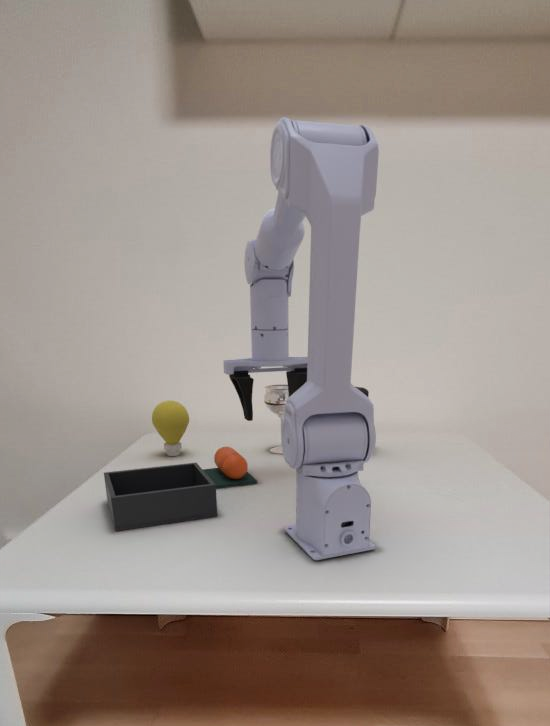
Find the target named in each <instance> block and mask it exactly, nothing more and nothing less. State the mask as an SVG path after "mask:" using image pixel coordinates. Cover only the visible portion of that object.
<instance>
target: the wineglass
mask: <svg viewBox="0 0 550 726" xmlns="http://www.w3.org/2000/svg"><path fill="white" fill-rule="evenodd" d="M263 388H264V390H265V393H264V396H263V402H264V404H265V407H266V408H267V410H269V411H270V412H271V413H272V414H275V415H277V417H278V418H279V423H280V430H281V429H282V423H283V420H284V411H285V404H286V400H287V399H288V398H289V393H288V384H270V385H265V386H264V387H263ZM269 452H271V453H273V454H280V455H281V454H282V455H283V450H282V445H279V446H275V447H271V448H269Z"/></svg>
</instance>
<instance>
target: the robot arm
mask: <svg viewBox="0 0 550 726" xmlns="http://www.w3.org/2000/svg"><path fill="white" fill-rule="evenodd" d="M269 149H270V150H269V152H270V153H269V167H270V168H269V169H270V177H271V181H272V183H273V185H274V186H275V190H276V191H277V196H276V202H275V206H274V207H272V208H270V209H269V210H268V211H267V212H266V213H265V214H264V216H263V218H262V221H261V223H260V226H259V228H258V229H259V230H258V231H257V232H258V233H257V235H256V239H251V240H247V242H246V246H245V250H244V261H243V262H244V263H243V264H244V274H245V279H246V282H247V284H248V285H249V299H250V300H249V301H250V303H249V304H250V336H251V337H250V338H251V357H250V358H237V359H223V362H222V363H223V374H225V375H228V377H229V379H230V381H231V383H232V385H233V387H234V389H235V391H236V393H237V396H238V398H239V401H240V404H241V409H242V412H243V417H244V420H246V421H247V422H253V419H254V409H253V389H254V380H255V379H254V378H253V377H251V373H252V374H254V373H272V372H275V373H276V372H285V373H286V374H285V375H286V381H287V385H288V393H289V398H288V399H287V400H286V404H285V411H284V420H283V423H282V429H281V428H280V441H281V446H282V450H283V454H282V455H283V458H284V460H285V463H286V464H287V465H288V466H289V467H290V468H291V469H292V470H295V473H296V475H295V481H296V482H295V490H296V491H295V509H296V510H295V512H296V513H295V524H292V525H286V526H284V532H285V533H286V534H287V535H289V536H290V538H292V540H293V541H294V542H296V544H297V545H298V546H299V547H300V548H301V549H302V550H303V551H304V552H305V553H306V554H307V555H308V556H309V557H310V558H311V559H312V560H314V561H320V560H326V559H332V558H336V557H341V556H347V555H350V554H351V555H352V554H358V553H362V552H367V551H372V550H375V549H376V544H375V543H374V542H372V540H370V534H371V533H370V531H371V529H370V528H371V513H372V500H371V496H370V493H369V492H368V490H367V489H366V487H364V486H363V484H362V483H361V480H360V478H359V472H361V471H362V472H363V471H364V466H365V465H364V464H365V463H368V462H369V461H370V459H371V458H372V455H373V454H374V452H375V449H376V444H377V433H376V426H375V419H374V416H375V415H374V413H375V408H374V404H373V402H372V401H371V399H370V398H369V396H368V397H367V396H366V395H365V394H364V393H362V392H361V391H360V390H358V389H357V388H356V387H355V385H354V384H353V383H352V365H353V351H354V350H353V349H354V334H355V318H356V302H357V301H356V300H357V285H358V267H359V252H360V234H361V225H362V224H361V222H362V217H363V216H364V215H366V214H368V213H370V212H372V211H374V209H375V200H376V196H377V184H378V169H379V155H380V154H379V153H380V150H379V143H378V141H377V139H376V136H375V135H374V133H373V131H372V129H371V127H370V126H369V125H367V124H359V125H350V124H338V123H330V122H318V121H307V120H297V119H290V118H289V117H281V118H280V119H279V120H278V122H277V123H276V124H275V126H274V127H273V130H272V135H271V141H270V148H269ZM305 218H306V219H307V220H308V223H309V225H310V252H309V253H310V256H309V257H310V259H309V288H308V289H309V291H308V292H309V293H308V296H309V297H308V324H307V325H308V328H307V331H308V332H307V356H289V354H290V353H289V352H290V351H289V350H290V348H289V345H290V343H289V341H290V340H289V339H290V338H289V335H290V334H289V298H290V297H291V296H292V286H293V285H292V283H293V277H294V269H295V260H294V259H295V256H296V254H297V252H298V250H299V249H300V246H301V244H302V242H303V240H304V237H305V225H304V222H303V221H304V220H305ZM262 367H263V368H262Z"/></svg>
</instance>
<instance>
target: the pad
mask: <svg viewBox="0 0 550 726" xmlns="http://www.w3.org/2000/svg"><path fill="white" fill-rule="evenodd" d="M202 470H203V471H204V472H205V473H206V474H207V475H208V477H209V478H210V479H211V480H212V481H213V482H214V484H215V485H216V489H223V488H229V487H230V488H232V487H237V486H246V485H253V484H258V480H257V478H255V477H254V476H253V475H252V474H251V473H250V472H248V471H247V472H246V474H245V475H244V476H243V477H242V478H240V479H230V478H228V477H227V476H226V475H225V474H224V473H223V472H222V471H221V470H220V469H219V468H218V467H212V468H202Z"/></svg>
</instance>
